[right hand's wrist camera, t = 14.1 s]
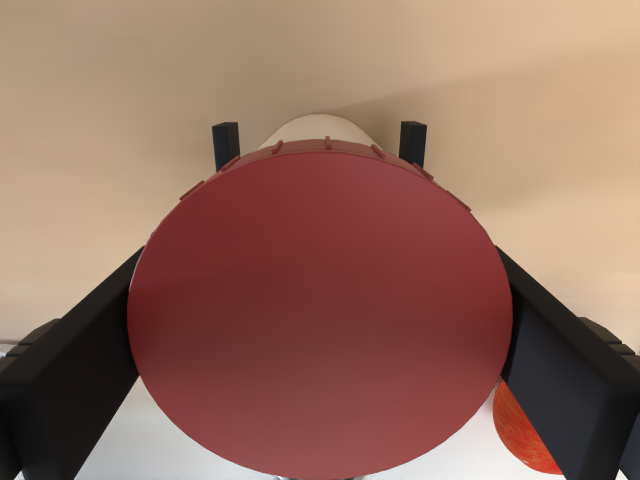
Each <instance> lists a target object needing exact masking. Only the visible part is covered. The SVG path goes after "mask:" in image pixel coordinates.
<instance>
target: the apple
mask: <svg viewBox="0 0 640 480" xmlns="http://www.w3.org/2000/svg"><path fill="white" fill-rule="evenodd" d="M493 419H494V424H495V427H496V430H497V433H498V435H499V437H500V439H501V440H502V442H503V443H504V445H505V446H506V447H507V449H508V450H509V451H510V452H511V453H512V454H513V455H514V456H515V457H517V458H518V459H519V460H520V461H522V462H523V463H524V464H525V465H527V466H528V467H530V468H532V469H534V470H536V471H539V472H543V473H549V474H557V475H563V473H562V472H561V470H560V469H559V467H558V466H557V464H556V462H555V461H554V459H553V458H552V456H551V454H550V453H549V451H548V450H547V448H546V447H545V445H544V443H543V442H542V440H541V439H540V437H539V435H538V434H537V432H536V431H535V429H534V428H533V426H532V424H531V423H530V421H529V420H528V418H527V416H526V415H525V413H524V412H523V410H522V409H521V407H520V405H519V404H518V402H517V401H516V399H515V397H514V396H513V394H512V393H511V391H510V390H509V388H508V386H507V385H506V383H505V382H504V380H503V381H502V382H501V383H500V385H499V386H498V388H497V390H496V393H495V396H494V401H493Z"/></svg>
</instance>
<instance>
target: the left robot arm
mask: <svg viewBox="0 0 640 480" xmlns="http://www.w3.org/2000/svg"><path fill="white" fill-rule="evenodd" d="M426 131H427V125H424V124H421V123H418V122H415V121H401V134H400V149H399V158H401V159H403V160H405V161H406V162H408V163H409V164H411V165H412V164H413V163H416V164H417V165H418V166H420V167H421V168H422V169H423V164H424V153H425V142H426ZM212 133H213V142H214V152H215V162H216V172H219V171H220V170H221V168H222V167H223V166H225V165H226V164H227V163H228V162H230V161H231V160H232V159H234V158H235V157H236V156H238V155H239V156H240V146H239V134H238V122H224V123H221V124H218V125H215V126H212ZM272 479H273V480H304V479H295V478H286V477H280V476H276V475H272ZM333 480H371V474H370V475H365V476H359V477H353V478H347V479H333Z"/></svg>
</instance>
